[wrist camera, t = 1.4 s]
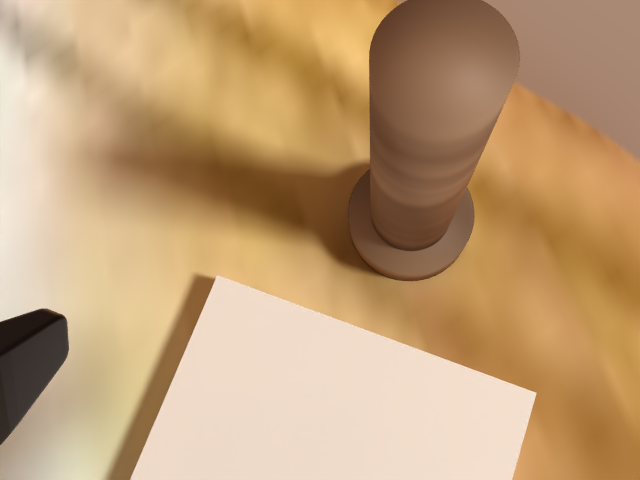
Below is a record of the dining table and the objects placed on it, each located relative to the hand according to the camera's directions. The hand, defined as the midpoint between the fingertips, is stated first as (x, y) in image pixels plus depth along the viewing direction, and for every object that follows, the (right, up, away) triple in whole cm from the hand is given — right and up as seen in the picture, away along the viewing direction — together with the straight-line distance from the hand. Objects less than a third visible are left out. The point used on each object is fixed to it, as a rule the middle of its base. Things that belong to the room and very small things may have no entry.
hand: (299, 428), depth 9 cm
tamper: (+4, +4, +15) cm, 16 cm away
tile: (0, -6, +13) cm, 14 cm away
